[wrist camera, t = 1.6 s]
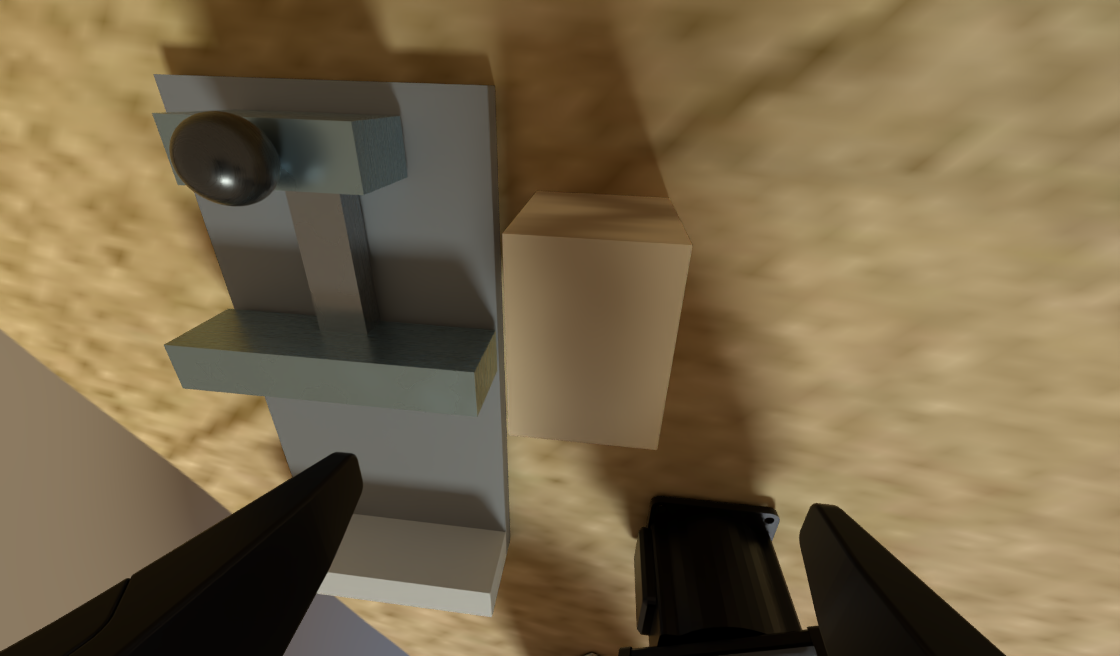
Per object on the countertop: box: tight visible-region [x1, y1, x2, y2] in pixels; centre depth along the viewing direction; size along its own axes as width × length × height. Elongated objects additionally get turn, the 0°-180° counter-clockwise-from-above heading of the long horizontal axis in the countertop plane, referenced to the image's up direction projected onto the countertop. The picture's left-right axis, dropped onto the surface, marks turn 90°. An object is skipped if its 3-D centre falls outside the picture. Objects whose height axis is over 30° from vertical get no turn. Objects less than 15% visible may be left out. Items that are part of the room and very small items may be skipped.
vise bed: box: [154, 74, 510, 617], centre depth 20 cm, size 12×24×4 cm, turn 178°
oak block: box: [502, 191, 693, 450], centre depth 16 cm, size 5×7×6 cm
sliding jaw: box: [152, 109, 497, 417], centre depth 15 cm, size 12×10×6 cm
